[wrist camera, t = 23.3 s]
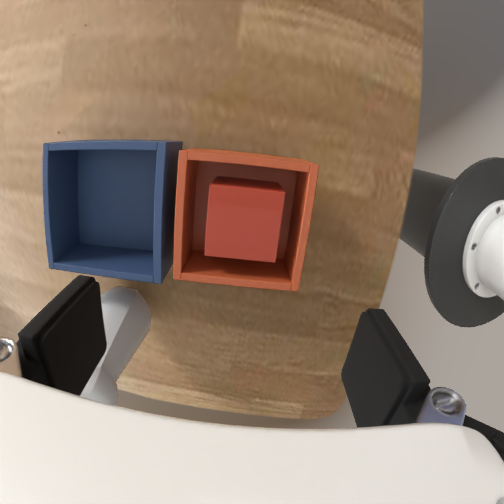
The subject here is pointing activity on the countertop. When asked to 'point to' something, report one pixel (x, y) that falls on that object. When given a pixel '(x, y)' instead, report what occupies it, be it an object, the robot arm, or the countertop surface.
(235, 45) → the countertop surface
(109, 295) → the salt shaker
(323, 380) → the countertop surface
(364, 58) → the countertop surface
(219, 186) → the red block
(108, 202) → the blue bin
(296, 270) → the orange bin
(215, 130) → the countertop surface
